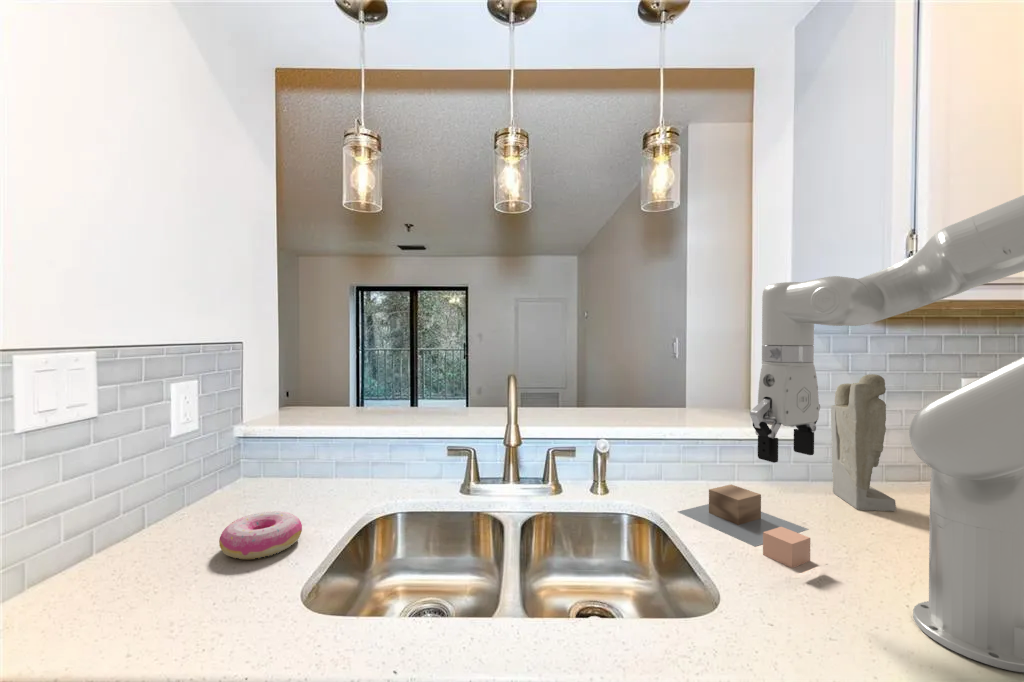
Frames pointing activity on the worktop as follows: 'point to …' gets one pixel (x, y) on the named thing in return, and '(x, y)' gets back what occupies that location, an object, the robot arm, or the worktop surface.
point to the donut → (260, 535)
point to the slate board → (741, 525)
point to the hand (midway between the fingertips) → (786, 456)
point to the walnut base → (735, 504)
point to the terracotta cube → (786, 546)
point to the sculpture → (859, 442)
